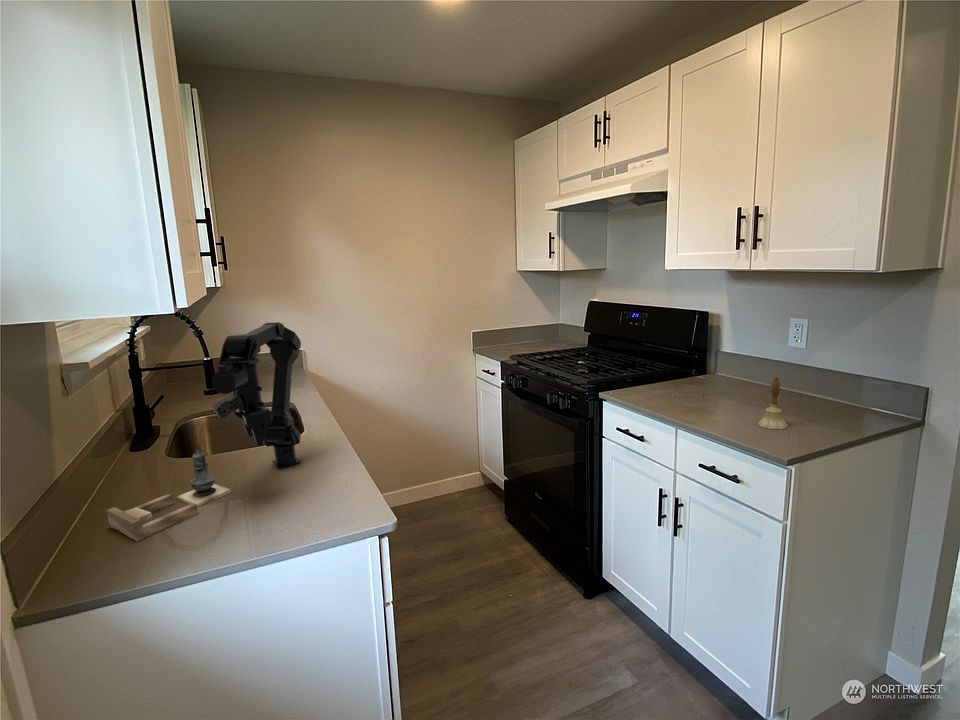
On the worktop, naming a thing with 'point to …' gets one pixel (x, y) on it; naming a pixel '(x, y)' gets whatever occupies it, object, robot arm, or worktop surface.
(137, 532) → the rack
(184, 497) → the cork mat
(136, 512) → the offcut upper
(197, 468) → the grey chess piece
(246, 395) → the robot arm
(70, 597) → the worktop surface
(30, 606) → the worktop surface
